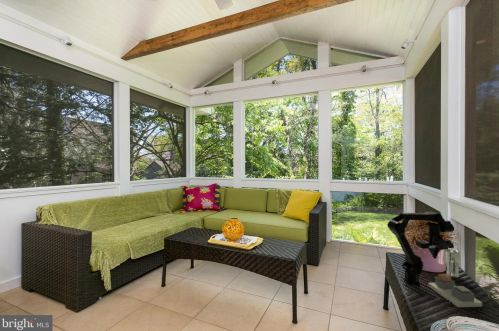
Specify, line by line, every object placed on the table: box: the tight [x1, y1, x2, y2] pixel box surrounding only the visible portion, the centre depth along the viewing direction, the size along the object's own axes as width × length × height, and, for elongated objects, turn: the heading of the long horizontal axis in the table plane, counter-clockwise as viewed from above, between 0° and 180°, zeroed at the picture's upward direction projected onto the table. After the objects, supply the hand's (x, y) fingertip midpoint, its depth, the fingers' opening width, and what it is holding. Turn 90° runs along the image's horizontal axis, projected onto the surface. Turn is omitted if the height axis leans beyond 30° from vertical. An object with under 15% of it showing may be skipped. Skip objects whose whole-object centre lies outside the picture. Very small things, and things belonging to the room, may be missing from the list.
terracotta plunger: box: [437, 273, 452, 282], centre depth 130 cm, size 4×4×5 cm
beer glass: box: [445, 248, 461, 278], centre depth 146 cm, size 7×7×15 cm
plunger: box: [455, 285, 471, 293], centre depth 120 cm, size 4×4×5 cm
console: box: [427, 276, 483, 308], centre depth 125 cm, size 12×19×6 cm, turn 0°
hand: (434, 258), depth 141 cm, fingers closed
